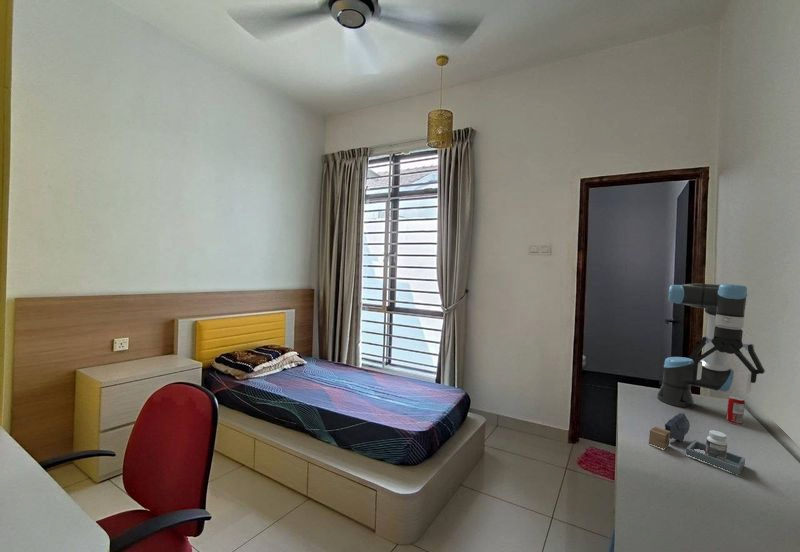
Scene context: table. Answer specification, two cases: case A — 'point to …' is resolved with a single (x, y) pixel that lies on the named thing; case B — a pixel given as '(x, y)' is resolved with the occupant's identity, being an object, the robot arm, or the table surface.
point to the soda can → (735, 410)
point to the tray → (731, 463)
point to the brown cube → (659, 437)
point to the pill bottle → (716, 445)
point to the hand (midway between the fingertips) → (722, 385)
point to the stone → (678, 427)
